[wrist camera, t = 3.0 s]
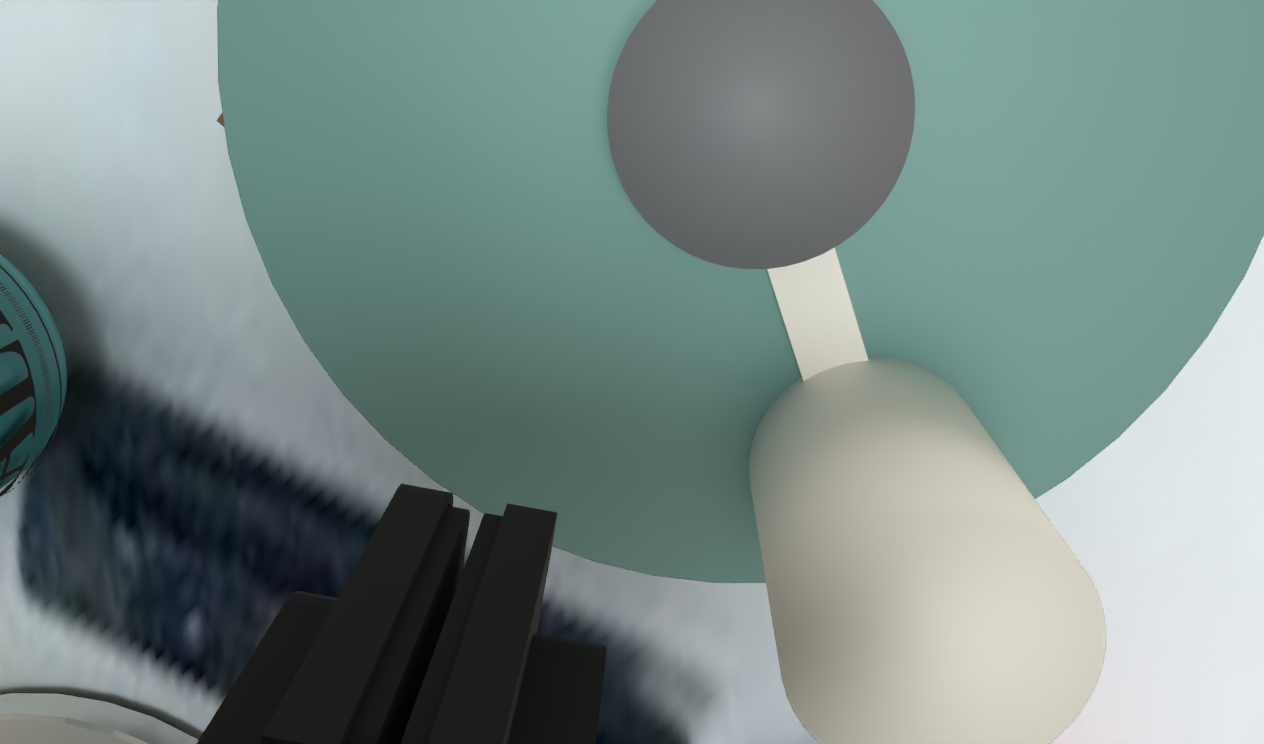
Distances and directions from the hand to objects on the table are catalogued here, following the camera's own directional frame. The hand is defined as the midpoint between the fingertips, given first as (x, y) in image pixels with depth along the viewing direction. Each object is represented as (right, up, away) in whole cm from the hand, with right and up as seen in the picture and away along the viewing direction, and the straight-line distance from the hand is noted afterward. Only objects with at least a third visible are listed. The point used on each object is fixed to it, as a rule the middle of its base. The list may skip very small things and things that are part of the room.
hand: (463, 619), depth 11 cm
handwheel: (+3, +7, +5) cm, 9 cm away
